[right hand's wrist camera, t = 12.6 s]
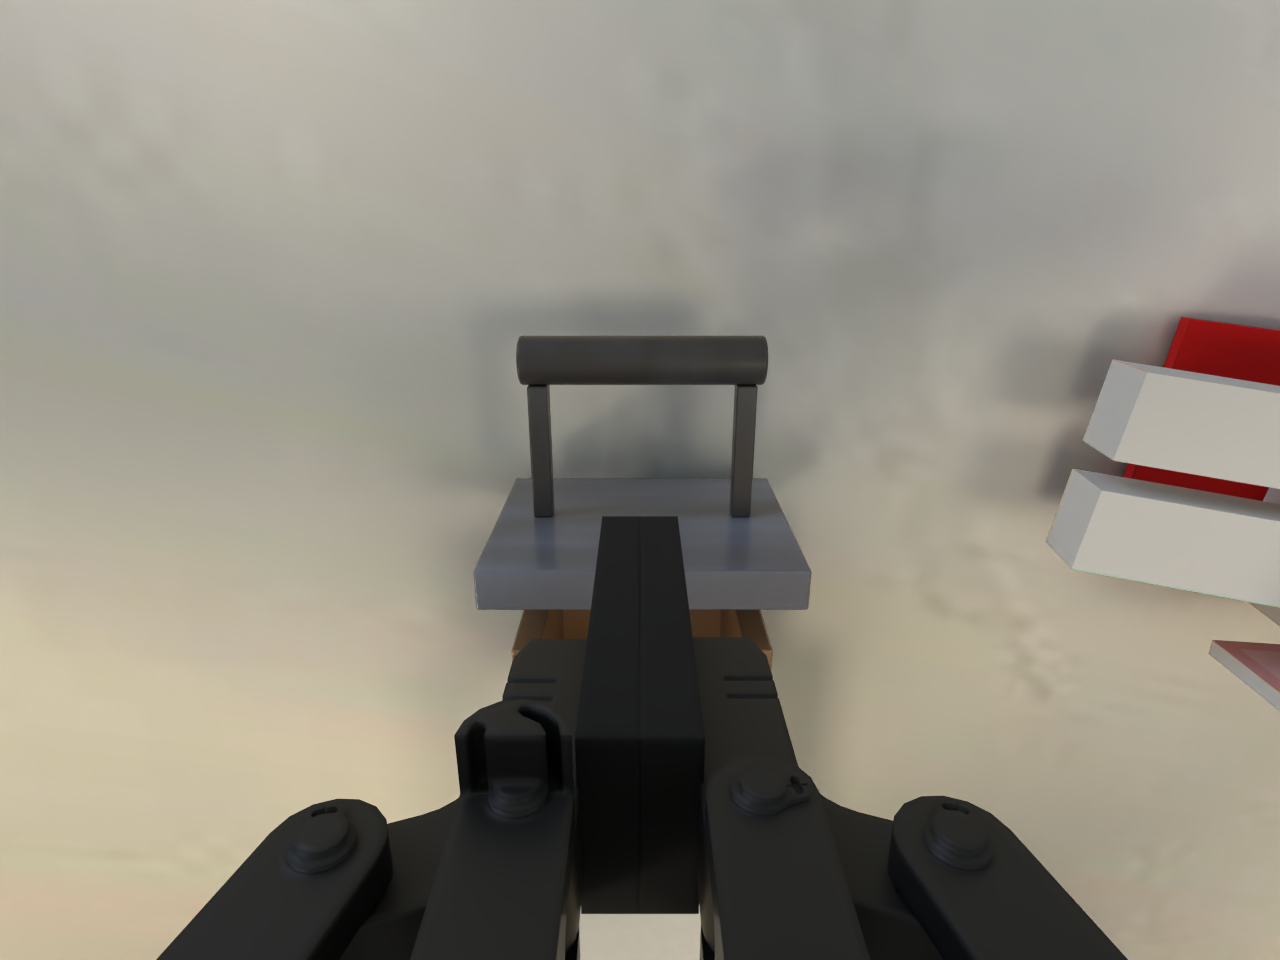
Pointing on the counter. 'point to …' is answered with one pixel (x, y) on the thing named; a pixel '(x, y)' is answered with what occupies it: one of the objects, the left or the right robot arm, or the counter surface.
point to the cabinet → (640, 936)
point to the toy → (1189, 481)
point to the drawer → (642, 499)
